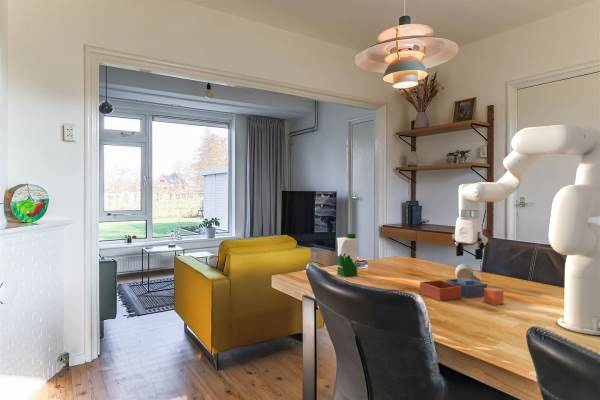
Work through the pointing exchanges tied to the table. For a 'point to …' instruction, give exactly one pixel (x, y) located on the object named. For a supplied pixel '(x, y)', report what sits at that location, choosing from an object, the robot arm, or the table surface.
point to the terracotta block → (493, 296)
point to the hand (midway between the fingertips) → (469, 257)
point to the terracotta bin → (440, 290)
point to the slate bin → (470, 288)
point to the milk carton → (347, 255)
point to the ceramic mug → (465, 272)
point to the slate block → (465, 281)
